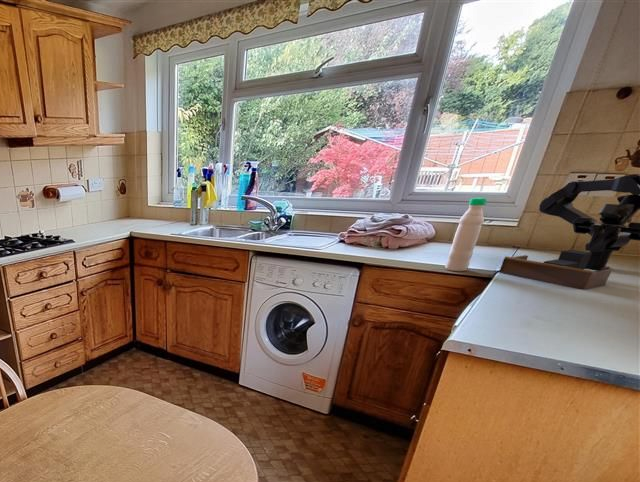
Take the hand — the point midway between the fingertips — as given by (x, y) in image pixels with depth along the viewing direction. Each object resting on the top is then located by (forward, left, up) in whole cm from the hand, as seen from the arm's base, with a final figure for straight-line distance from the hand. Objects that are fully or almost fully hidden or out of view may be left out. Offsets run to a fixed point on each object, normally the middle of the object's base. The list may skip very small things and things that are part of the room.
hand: (589, 247), depth 150 cm
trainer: (+10, 0, -9) cm, 14 cm away
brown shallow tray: (+16, 0, -9) cm, 19 cm away
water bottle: (+31, -22, -9) cm, 39 cm away
